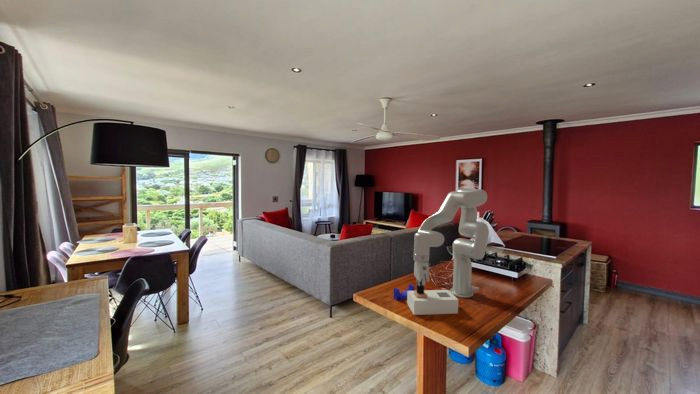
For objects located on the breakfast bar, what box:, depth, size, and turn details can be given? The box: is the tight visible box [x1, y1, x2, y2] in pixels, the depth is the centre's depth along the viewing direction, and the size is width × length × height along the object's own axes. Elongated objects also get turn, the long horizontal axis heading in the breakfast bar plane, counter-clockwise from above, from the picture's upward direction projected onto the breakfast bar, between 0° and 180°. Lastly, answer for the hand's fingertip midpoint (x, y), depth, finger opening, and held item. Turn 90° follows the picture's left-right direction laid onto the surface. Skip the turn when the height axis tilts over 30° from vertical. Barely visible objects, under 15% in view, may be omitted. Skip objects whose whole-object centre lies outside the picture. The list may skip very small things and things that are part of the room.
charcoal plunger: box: [437, 293, 450, 297], centre depth 145 cm, size 5×5×6 cm
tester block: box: [406, 289, 459, 316], centre depth 145 cm, size 22×12×7 cm, turn 95°
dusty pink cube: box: [414, 290, 427, 298], centre depth 144 cm, size 5×5×6 cm
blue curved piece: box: [393, 284, 415, 301], centre depth 158 cm, size 12×4×6 cm, turn 118°
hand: (420, 292), depth 144 cm, fingers closed
